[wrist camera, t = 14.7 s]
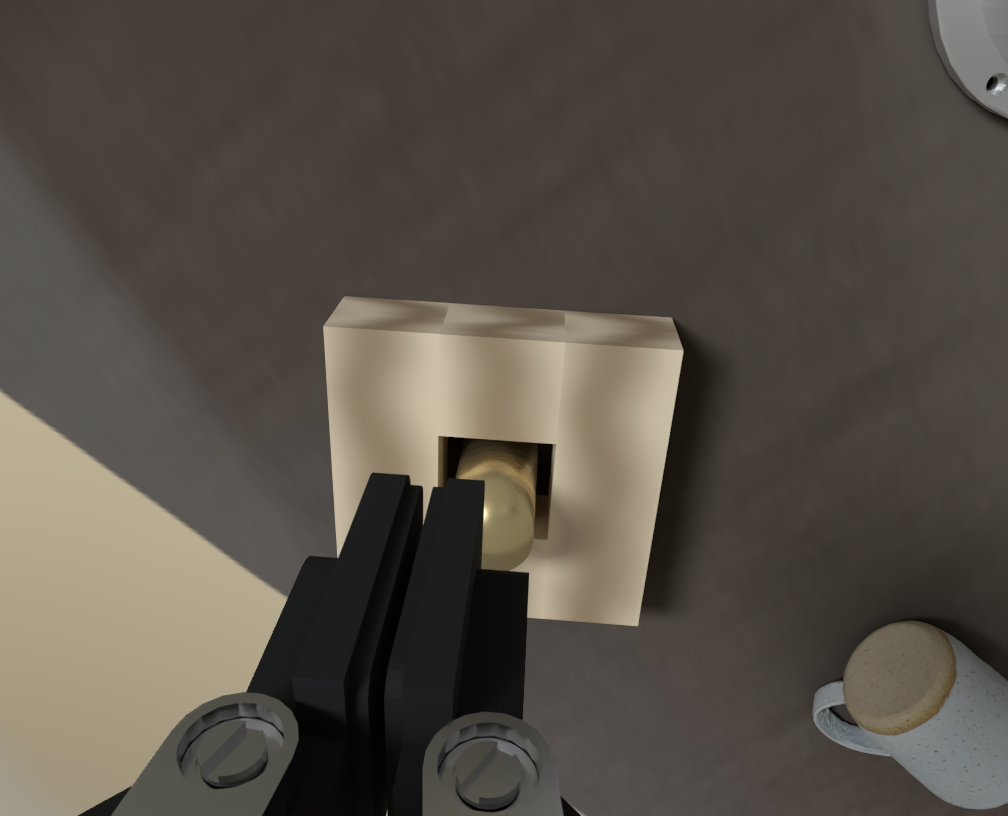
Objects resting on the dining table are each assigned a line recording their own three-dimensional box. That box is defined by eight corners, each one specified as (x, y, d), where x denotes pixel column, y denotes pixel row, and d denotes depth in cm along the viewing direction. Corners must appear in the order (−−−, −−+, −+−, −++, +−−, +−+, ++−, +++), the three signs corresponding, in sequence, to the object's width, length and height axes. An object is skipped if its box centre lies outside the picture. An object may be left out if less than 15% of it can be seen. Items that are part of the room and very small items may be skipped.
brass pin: (540, 417, 41) (536, 503, 34) (535, 482, 43) (530, 576, 36) (464, 412, 42) (444, 497, 34) (462, 476, 43) (443, 570, 36)
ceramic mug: (918, 587, 45) (979, 693, 38) (1007, 659, 47) (1080, 772, 40) (775, 684, 49) (807, 795, 43) (862, 746, 51) (906, 862, 45)
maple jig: (671, 317, 38) (683, 350, 35) (631, 577, 46) (637, 626, 42) (344, 296, 39) (323, 326, 35) (356, 556, 46) (340, 602, 43)
